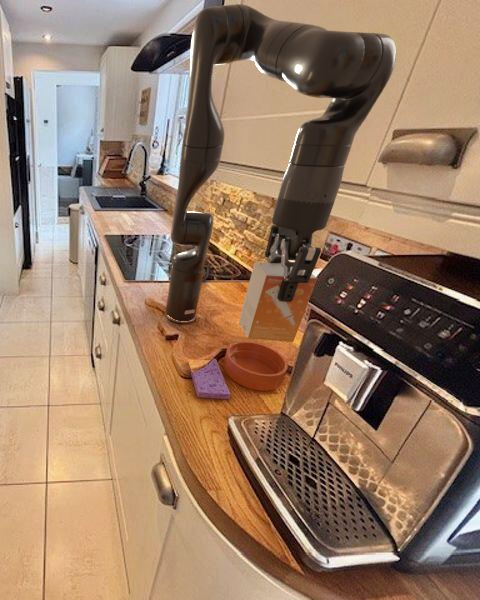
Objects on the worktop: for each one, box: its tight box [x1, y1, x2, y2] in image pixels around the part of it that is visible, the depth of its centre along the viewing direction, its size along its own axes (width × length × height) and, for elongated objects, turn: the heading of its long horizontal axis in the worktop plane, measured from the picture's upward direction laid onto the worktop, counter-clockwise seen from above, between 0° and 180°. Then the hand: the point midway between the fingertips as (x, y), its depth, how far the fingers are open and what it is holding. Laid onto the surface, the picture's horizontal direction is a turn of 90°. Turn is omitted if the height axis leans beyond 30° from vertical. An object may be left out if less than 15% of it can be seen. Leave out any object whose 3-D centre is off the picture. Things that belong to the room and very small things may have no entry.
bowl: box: [222, 340, 289, 392], centre depth 79 cm, size 13×13×5 cm
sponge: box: [189, 358, 231, 400], centre depth 78 cm, size 7×13×2 cm, turn 174°
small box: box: [238, 262, 318, 343], centre depth 59 cm, size 8×6×13 cm
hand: (276, 291), depth 58 cm, fingers closed on small box, 6 cm apart
